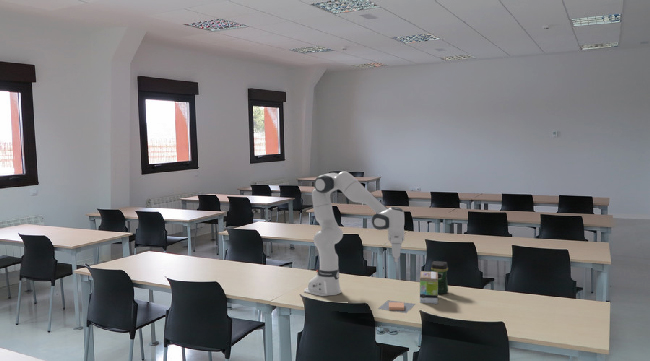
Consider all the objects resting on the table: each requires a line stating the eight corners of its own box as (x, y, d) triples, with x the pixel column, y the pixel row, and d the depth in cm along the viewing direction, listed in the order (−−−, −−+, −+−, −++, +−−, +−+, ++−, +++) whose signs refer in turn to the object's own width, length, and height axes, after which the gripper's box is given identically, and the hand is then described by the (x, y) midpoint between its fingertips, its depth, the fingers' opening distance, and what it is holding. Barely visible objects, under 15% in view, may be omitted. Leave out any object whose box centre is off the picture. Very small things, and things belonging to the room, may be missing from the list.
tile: (388, 302, 284) (388, 306, 276) (403, 302, 283) (404, 307, 275) (388, 305, 284) (388, 310, 276) (403, 305, 283) (404, 310, 275)
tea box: (438, 304, 286) (438, 278, 285) (419, 303, 288) (419, 277, 287) (437, 296, 301) (437, 271, 300) (420, 295, 303) (420, 270, 302)
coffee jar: (449, 291, 309) (449, 260, 308) (446, 295, 302) (446, 263, 300) (433, 289, 313) (433, 259, 312) (429, 293, 306) (429, 262, 305)
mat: (377, 309, 279) (377, 308, 279) (388, 301, 293) (388, 300, 293) (406, 314, 272) (406, 312, 271) (415, 305, 286) (415, 303, 286)
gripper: (390, 233, 295) (390, 257, 296) (390, 240, 275) (390, 266, 276) (401, 233, 294) (401, 257, 295) (402, 240, 274) (402, 266, 275)
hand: (396, 261), depth 286 cm, fingers closed
